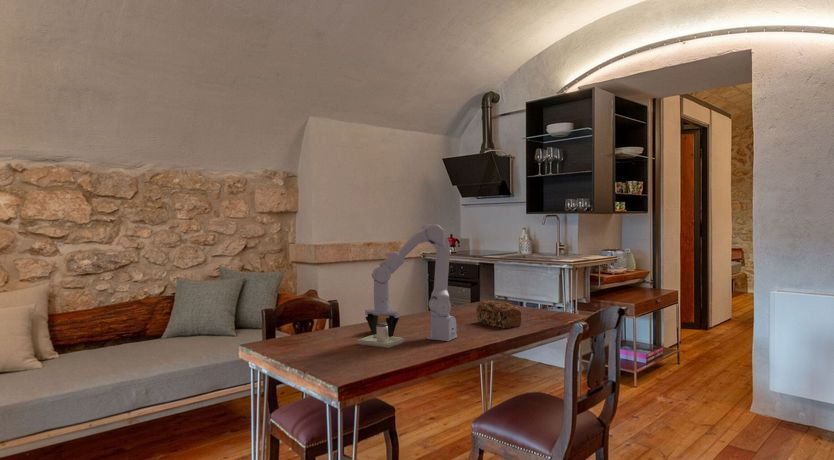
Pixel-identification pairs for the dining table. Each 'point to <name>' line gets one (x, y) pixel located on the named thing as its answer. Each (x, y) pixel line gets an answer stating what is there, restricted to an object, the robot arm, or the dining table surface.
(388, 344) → the tray
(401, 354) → the dining table surface
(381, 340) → the shaker
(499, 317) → the bread
